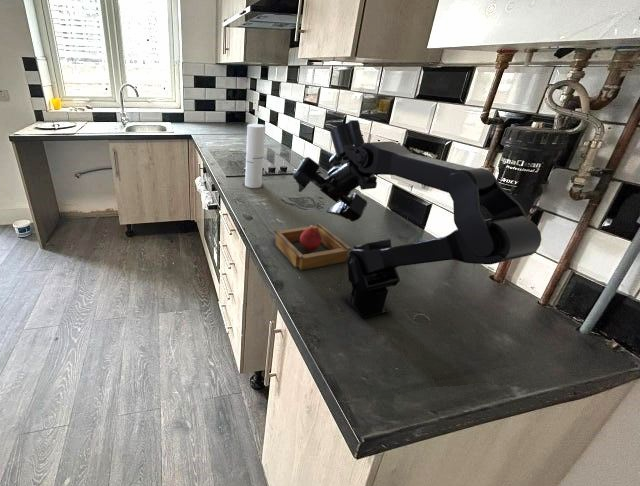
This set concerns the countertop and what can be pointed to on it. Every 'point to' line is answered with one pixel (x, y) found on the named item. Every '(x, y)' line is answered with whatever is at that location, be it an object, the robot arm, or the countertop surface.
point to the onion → (310, 239)
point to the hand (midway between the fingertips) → (313, 200)
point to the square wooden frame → (312, 260)
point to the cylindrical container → (254, 155)
